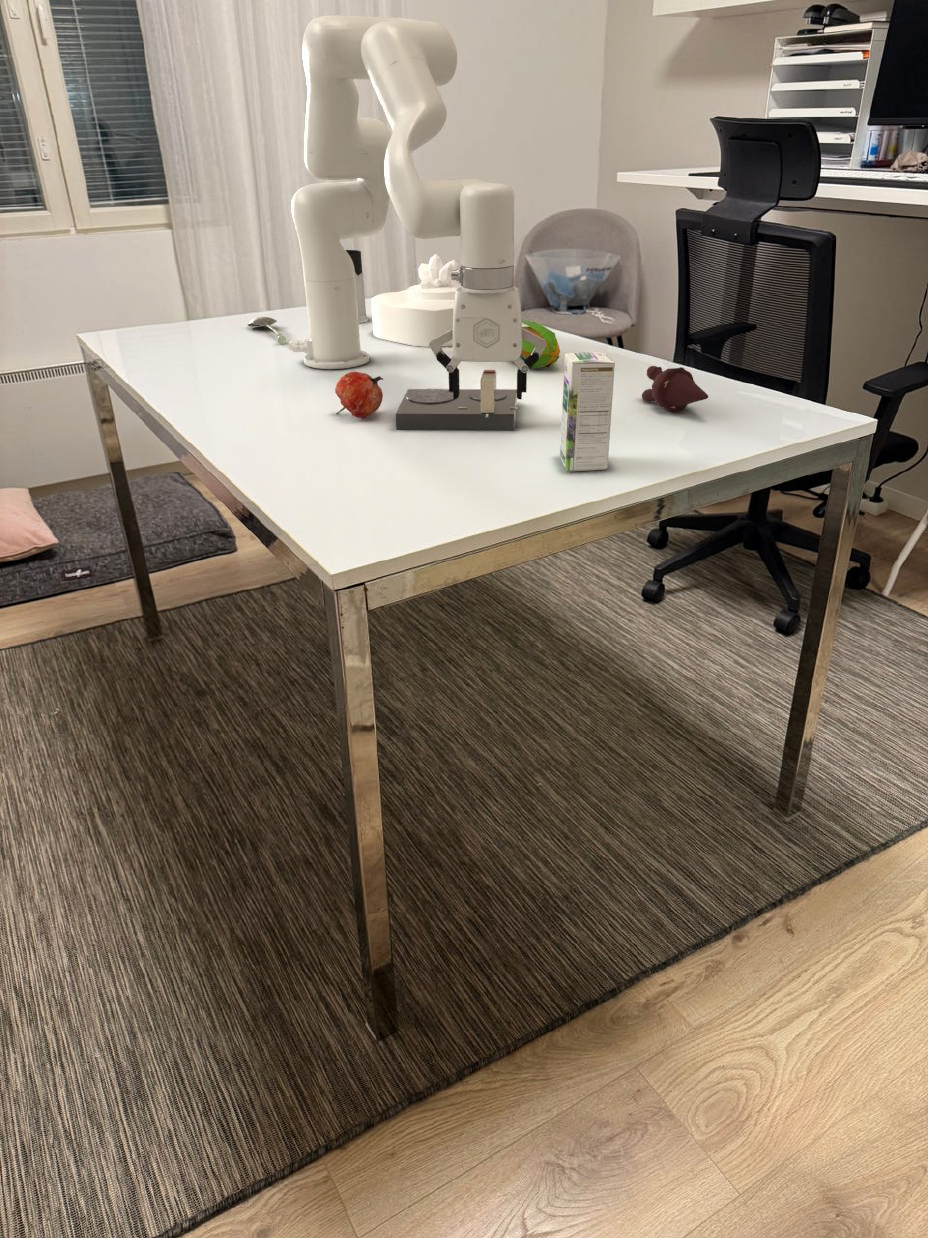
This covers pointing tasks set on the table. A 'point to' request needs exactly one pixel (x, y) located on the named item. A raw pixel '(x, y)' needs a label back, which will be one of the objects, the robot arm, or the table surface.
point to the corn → (549, 352)
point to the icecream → (672, 388)
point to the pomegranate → (359, 394)
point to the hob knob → (488, 391)
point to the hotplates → (444, 396)
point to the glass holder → (359, 284)
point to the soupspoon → (267, 322)
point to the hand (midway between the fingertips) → (487, 396)
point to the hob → (457, 413)
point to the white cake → (418, 307)
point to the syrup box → (586, 411)
